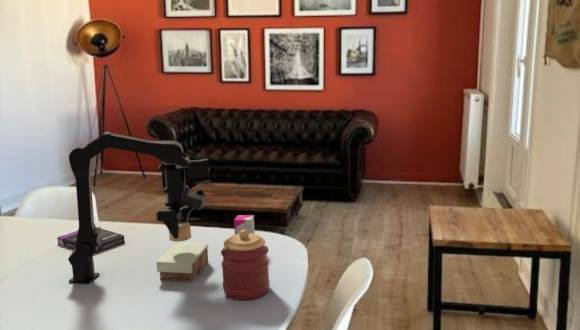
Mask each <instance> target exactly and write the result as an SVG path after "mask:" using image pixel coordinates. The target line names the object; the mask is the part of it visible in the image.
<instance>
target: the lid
mask: <svg viewBox="0 0 580 330" xmlns="http://www.w3.org/2000/svg"><path fill="white" fill-rule="evenodd" d="M208 248H209V244H208V243H206V244H205V243H185V242H183V243H181V242H175V244H174V245H173V246H171V247H170V248H169V249H168V250H167V251H166V252H165V253H164V254H163V255H162V256H161V257H160V258H159V259H158V260H157V261H156V272H159V273H160V272H176V273H192V272H193V269H192V264H193V263H194V262H195V261H196V260H197V259H198V258H199V256H200V255H201V254H202V253H203V252H204V251H205V250H206V249H207V250H208Z"/></svg>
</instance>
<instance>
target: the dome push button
mask: <svg viewBox="0 0 580 330" xmlns="http://www.w3.org/2000/svg"><path fill="white" fill-rule="evenodd" d="M191 230H192V228H191V223H190V222H179V233H178V238H177V239H174V237H173V236H172V234H171V233H170V231H169V230H168V236H169V241H171V242H175V243H181V242H185V241H188V240H190V239H191V238H192V231H191Z"/></svg>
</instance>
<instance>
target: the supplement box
mask: <svg viewBox="0 0 580 330" xmlns="http://www.w3.org/2000/svg"><path fill="white" fill-rule="evenodd" d="M233 223H234V224H233V226H234V235H236V234H239V233H240V231H241V230H247V231H248V233H252V234H256V233H255V232H256V231H255V215H254V214H246V215H245V214H244V215H243V214H239V215H236V217H235V218H234V220H233Z"/></svg>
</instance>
